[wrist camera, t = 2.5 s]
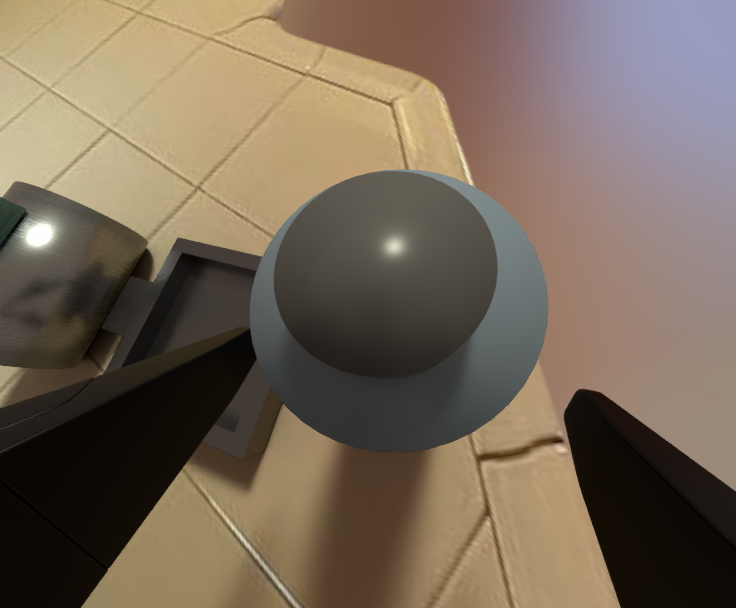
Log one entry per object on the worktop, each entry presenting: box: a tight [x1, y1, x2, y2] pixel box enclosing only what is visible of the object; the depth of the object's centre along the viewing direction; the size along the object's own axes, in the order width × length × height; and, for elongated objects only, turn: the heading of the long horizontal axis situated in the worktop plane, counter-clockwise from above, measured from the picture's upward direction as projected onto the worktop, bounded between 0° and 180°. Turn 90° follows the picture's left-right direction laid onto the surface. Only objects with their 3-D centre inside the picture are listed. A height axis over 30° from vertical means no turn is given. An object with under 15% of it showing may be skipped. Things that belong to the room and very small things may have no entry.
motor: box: [0, 181, 283, 460], centre depth 15 cm, size 11×21×8 cm, turn 72°
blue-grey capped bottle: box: [250, 169, 548, 452], centre depth 10 cm, size 5×5×13 cm
